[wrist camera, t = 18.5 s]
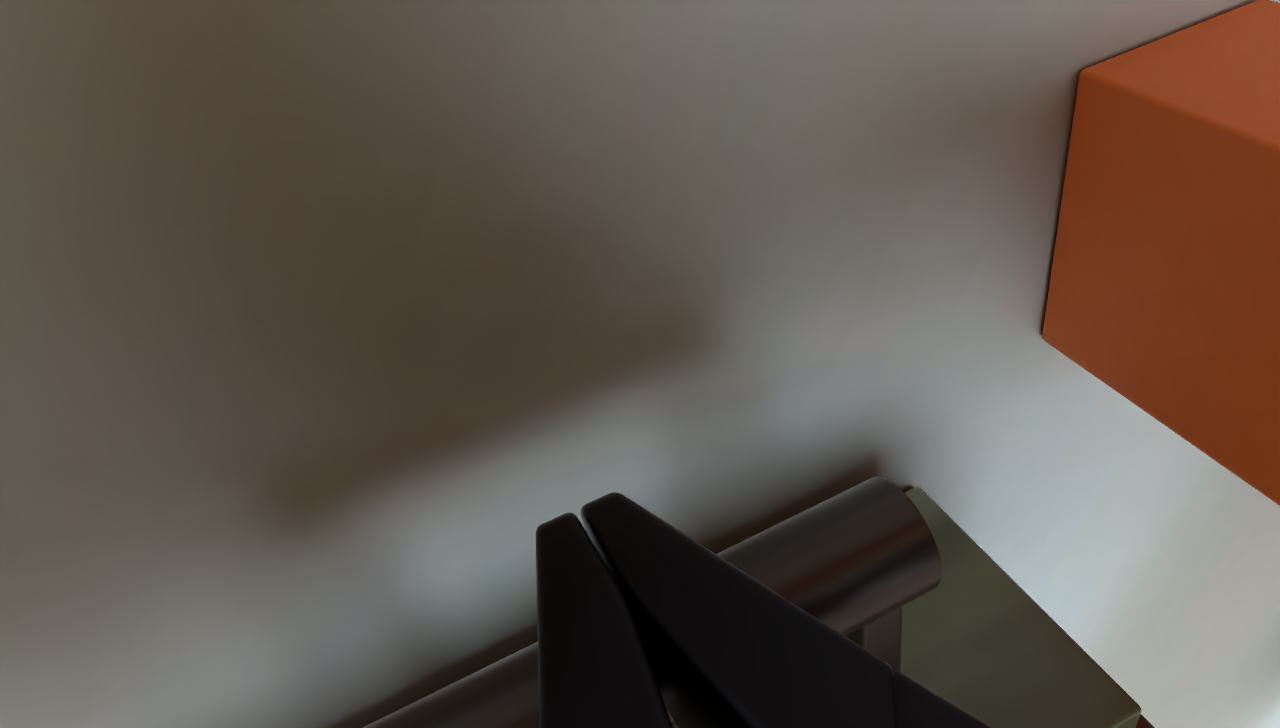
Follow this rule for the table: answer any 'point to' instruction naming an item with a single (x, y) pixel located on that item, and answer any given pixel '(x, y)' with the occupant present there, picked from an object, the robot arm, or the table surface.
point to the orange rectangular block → (1181, 236)
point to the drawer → (872, 621)
